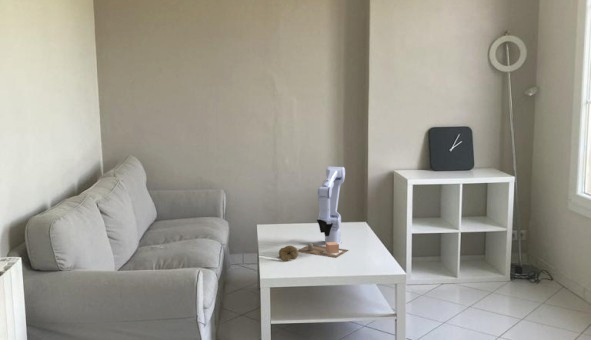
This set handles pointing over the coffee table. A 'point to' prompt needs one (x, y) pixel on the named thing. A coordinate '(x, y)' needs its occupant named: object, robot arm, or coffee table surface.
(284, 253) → the fossil
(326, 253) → the mat
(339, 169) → the robot arm
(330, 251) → the salmon pink cube
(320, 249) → the post board
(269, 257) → the coffee table surface
